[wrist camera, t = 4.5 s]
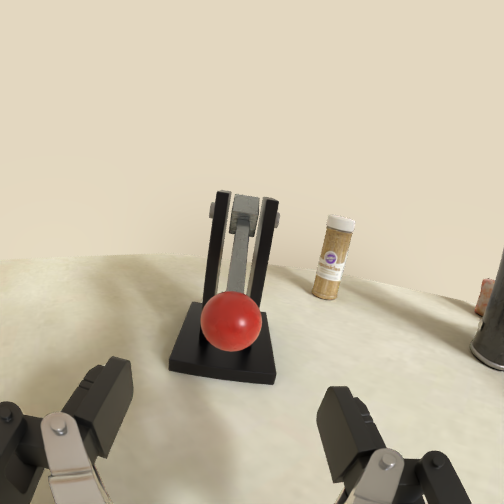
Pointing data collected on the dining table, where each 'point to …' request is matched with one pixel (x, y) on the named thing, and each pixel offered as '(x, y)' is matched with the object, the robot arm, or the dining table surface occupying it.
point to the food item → (484, 296)
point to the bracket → (191, 335)
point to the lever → (235, 288)
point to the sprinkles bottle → (333, 256)
